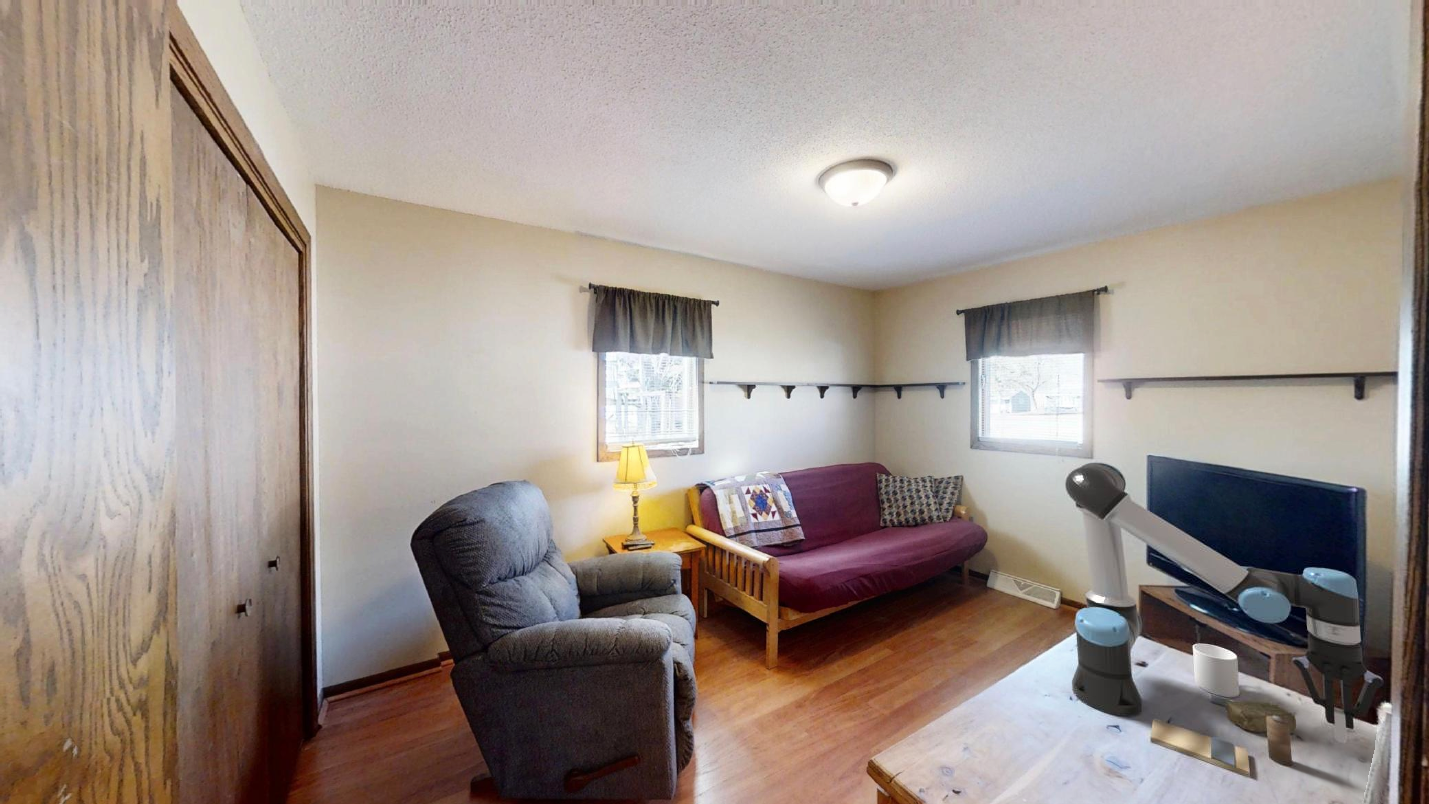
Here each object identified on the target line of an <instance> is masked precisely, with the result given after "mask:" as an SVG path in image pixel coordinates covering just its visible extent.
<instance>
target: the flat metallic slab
mask: <svg viewBox="0 0 1429 804" xmlns="http://www.w3.org/2000/svg"><path fill="white" fill-rule="evenodd" d="M1228 701H1231V699H1228V698H1226V697H1222V696H1219V695H1215V694H1210V703H1211V704H1214V705H1217V706H1221V707H1225V708H1227V702H1228ZM1152 719H1153V720H1152V723H1151V725H1152V726H1151V731H1150V742H1151V743H1154V744H1156V745H1159V746H1162V747H1164V748H1167V749H1170V750H1173V751H1177V752H1178V753H1181V754H1184V755H1187V756H1190V757H1193V758H1195V759H1199V760H1201V761H1204V762H1206V763H1209V764H1212V765H1215V766H1217V767H1220V768H1223V769H1226V770H1228V771H1231V772H1235V773H1236V774H1239V775H1243V776H1245V777H1248V778H1251V773H1250V770H1251V769H1250V763H1249V752H1248V749H1246V748H1243V747H1239V746H1237V745H1234V743H1232V742H1229V741H1226V740H1223V739H1219V738H1218V737H1214V736H1207V735H1203V734H1201V733H1199V732H1196V731H1193V730H1189V729H1186V728H1183V727H1180V726H1177V725H1175V724H1171V723H1168V722H1166V721H1161V720H1159V719H1156V718H1152Z"/></svg>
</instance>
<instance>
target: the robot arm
mask: <svg viewBox="0 0 1429 804" xmlns="http://www.w3.org/2000/svg"><path fill="white" fill-rule="evenodd" d="M1126 482H1127V481H1126V479H1125V476H1124V474H1123V473H1122V471H1121V470H1120V469H1118V468H1117V467H1115V466H1114V465H1111V464H1109V463H1105V462H1101V461H1100V462H1097V461H1096V462H1089V463H1085V464H1082V465H1081V466H1080V467H1077V468H1074V469H1073V470H1072V471H1071V472H1069V474H1068V475H1067V477H1066V480H1065V482H1064V483H1065V484H1064V485H1065V490H1066V493H1067V494H1068V495H1069V497H1070V498H1071V499H1072V500H1073V501H1074V502H1075V507H1076V509H1078V510H1080V512H1082V517H1083V524H1084V535H1085V543H1086V544H1085V545H1086V553H1087V561H1088V562H1087V563H1088V569H1089V580H1090V588H1091V589H1090V590H1089V591H1087V592H1086V593H1085V597H1086V607H1084V608H1081V609H1080V610H1078V611H1077V612H1076V614H1075V620H1074V625H1075V633H1076V648H1077V650H1076V652H1077V662H1078V664H1077V667H1076V669H1075V672H1074V675H1073V677H1072V680H1071V690H1072V693H1073V692H1074V693H1073V695H1075V694H1076V695H1075V697H1076V696H1078V697H1077V699H1078V700H1080V699H1081V700H1082V702H1083V701H1084V702H1085V703H1084V702H1083V703H1084V704H1086V703H1087V704H1086V705H1088V706H1090V707H1091V708H1094V709H1095V710H1099V711H1101V712H1105V713H1108V714H1111V715H1118V716H1125V717H1128V716H1129V717H1130V716H1131V717H1132V716H1138V715H1139V714H1141V713H1142V712H1143V710H1144V709H1143V700H1142V697H1141V695H1140V693H1139V690H1138V687H1137V685H1136V684H1135V681H1134V679H1133V672H1132V670H1133V669H1132V657H1131V656H1132V655H1131V654H1132V649H1133V647H1134V645H1135V644H1136V640H1138V638H1139V637H1140V636H1141V633H1142V630H1143V621H1142V618H1141V615H1140V613H1139V612H1138V608H1137V600H1136V599H1134V598H1133V597H1132V596H1131V595H1130V594H1129V588H1128V580H1127V579H1128V578H1127V570H1126V564H1125V563H1126V561H1125V554H1124V553H1125V552H1124V546H1123V545H1124V544H1123V535H1122V529H1123V530H1125V531H1126V532H1128V534H1130V535H1132V536H1134V538H1137V539H1138V540H1140V542H1141V541H1142V542H1143V543H1145V544H1146V545H1147V546H1149V547H1151V548H1152V549H1153V550H1156V551H1157V552H1159V554H1162V555H1163V556H1165V557H1166V558H1167V559H1169V560H1171V561H1172V562H1174V564H1176V565H1179V566H1180V567H1182V568H1183V569H1185V570H1186V571H1188V573H1191V574H1193V575H1194V576H1196V577H1197V578H1199V579H1200V580H1202V581H1203V582H1205V583H1206V584H1208V585H1210V586H1211V587H1213V588H1214V589H1215V590H1217V591H1219V592H1220V593H1222V594H1224V595H1225V596H1227V597H1228V598H1229V599H1231V600H1233V601H1234V602H1235V603H1237V604H1238V606H1239V607H1240V608H1241V610H1242V611H1243V613H1245V614H1246V615H1247V616H1249V617H1250V618H1252V619H1254V620H1255V621H1258V622H1261V623H1267V624H1276V623H1277V624H1278V623H1281V622H1283V621H1285V620H1287V618H1288V617H1289V615H1290V612H1291V610H1292V607H1291V606H1293V607H1299V608H1305V610H1306V611H1305V614H1306V616H1305V617H1306V626H1307V627H1306V628H1307V631H1308V633H1307V641H1308V642H1307V644H1308V645H1307V646H1308V651H1307V652H1306V653H1305V655H1304V656H1300V657H1298V656H1296V655H1295V656H1294V655H1293V656H1292V657H1291V659H1292V662H1293V664H1294V665H1295V666H1296V667H1297V668H1298V669H1299V671H1300V672H1301V675H1302V678H1303V680H1304V682H1305V685H1306V687H1307V689H1308V692H1309V695H1310V697H1311V699H1312V702H1313V703H1314V704H1315V705H1318V706H1321V707H1323V708H1324V713H1325V714H1324V715H1325V720H1326V722H1327V723H1329V724H1332V725H1333V735H1334V738H1335V740H1336V741H1337V742H1340V743H1342V744H1348V739H1347V738H1348V737H1347V729H1350V730H1354V728H1355V727H1354V726H1355V725H1354V717H1355V716H1359V717H1363V718H1365V717H1367V715H1368V713H1369V710H1370V707H1371V705H1372V703H1373V700H1374V697H1375V694H1376V691H1377V689H1380V688H1381V687H1382V686H1384V685H1385V682H1384V680H1383V678H1382V677H1381V676H1380V675H1379V674H1374V673H1373V672H1371V671H1369V670H1368V669H1367V668H1366V665H1364V663H1363V651H1362V648H1363V647H1362V645H1361V644H1360V643H1361V642H1362V639H1361V627H1360V604H1359V593H1358V588H1357V587H1358V586H1357V580H1356V579H1355V577H1353V576H1352V575H1350V573H1346V572H1344V571H1340V570H1337V569H1331V568H1324V567H1305V568H1304V570H1303V573H1302V574H1295V573H1294V574H1293V573H1289V572H1283V571H1282V572H1281V571H1276V570H1270V569H1269V570H1268V569H1263V568H1258V567H1257V568H1256V567H1253V566H1240V565H1239V564H1237V562H1236V563H1235V562H1234V561H1233V560H1231V559H1229V558H1227V557H1225V556H1224V555H1222V554H1221V553H1219V552H1217V551H1216V550H1214V549H1212V548H1211V547H1209V546H1207V545H1205V544H1204V543H1202V542H1201V541H1199V540H1198V539H1196V538H1194V537H1192V536H1191V535H1189V534H1188V533H1186V532H1185V531H1183V530H1182V529H1180V528H1177V527H1176V526H1174V525H1173V524H1171V523H1170V522H1168V521H1166V520H1164V519H1163V518H1162V517H1160V516H1158V515H1156V514H1155V513H1153V512H1151V511H1150V510H1149V509H1146V508H1144V507H1143V506H1141V505H1139V504H1138V503H1136V502H1135V501H1133V500H1132V499H1131V495H1130V494H1129V493H1128V492H1126V491H1125V490H1126V486H1127V483H1126ZM1309 663H1310V664H1311V665H1312V666H1313V667H1314V668H1315V669H1316V670H1317V671H1318V672H1319V673H1320V674H1321V675H1322V687H1323V698H1322V697H1320V695H1319V693H1318V690H1317V688H1316V686H1315V684H1314V680H1313V677H1312V676H1311V673H1310V671H1309V669H1308V668H1310V664H1309ZM1363 675H1364V677H1363V679H1364V683H1363V686H1362V689H1361V691H1360V693H1359V697H1358V699H1357V701H1356V704H1355V706H1353V692H1352V686H1353V685H1352V682H1353V681H1355V680H1357V679H1359V678H1360V677H1362V676H1363ZM1334 679H1337V680H1340V681H1339V682H1340V690H1341V693H1340V695H1341V706H1342V709H1341V708H1338V707H1335V699H1334V698H1335V696H1334V695H1335V694H1334ZM1081 700H1080V701H1081Z"/></svg>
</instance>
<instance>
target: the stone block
mask: <svg viewBox="0 0 1429 804" xmlns="http://www.w3.org/2000/svg"><path fill="white" fill-rule="evenodd" d="M1226 713H1227V714H1226V715H1227V716H1226V717H1227V718H1228V719H1229V720H1230V722H1231V723H1233V724H1234V725H1236V726H1240V727H1241V728H1242V729H1243V730H1245V731H1246V730H1247V731H1249V732H1255V733H1267V722H1266V717H1267V716H1273V715H1275V716H1279V717H1281V718H1282V719H1283V720H1285V721H1287V722H1288V723H1289V725H1290V734H1294V733H1295V732H1296V728H1297V719H1296V716H1295V715H1294V714H1293V713H1291V712H1290V711H1287V710H1285V709H1284V708H1283V707H1281V706H1279V705H1277V704H1274V703H1270V702H1262V701H1238V700H1235V701H1234V700H1233V701H1231V700H1230V701H1228V702H1227V707H1226Z"/></svg>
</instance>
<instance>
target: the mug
mask: <svg viewBox="0 0 1429 804" xmlns="http://www.w3.org/2000/svg"><path fill="white" fill-rule="evenodd" d="M1192 653H1193V654H1192V655H1193V669H1194V671H1193V672H1194V681H1195V684H1196V686H1198V687H1199V688H1200V689H1202V690H1204V691H1206V692H1208V693H1209V694H1211V695H1215V696H1218V697H1222V698H1235V697H1238V696H1239V694H1240V681H1239V665H1238V656H1237V654H1236V653H1234V652H1233V651H1231V650H1229V649H1226V648H1223V647H1221V646H1218V645H1213V644H1208V643H1195V644H1193V645H1192Z"/></svg>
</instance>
